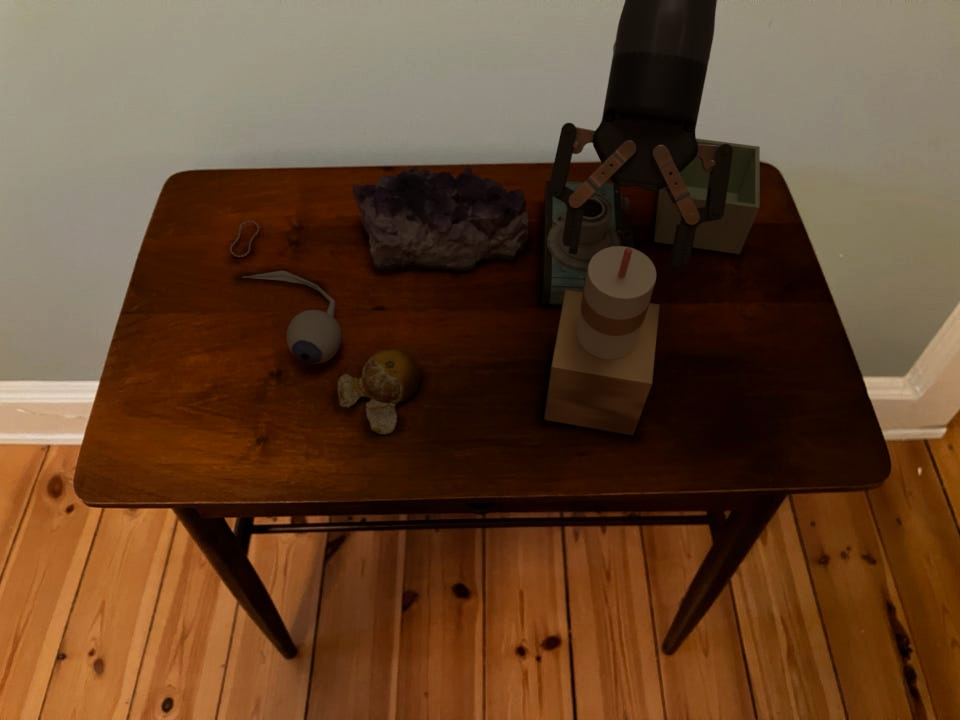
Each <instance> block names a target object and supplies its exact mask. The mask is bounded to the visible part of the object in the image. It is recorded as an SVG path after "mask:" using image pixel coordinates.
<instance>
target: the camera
mask: <svg viewBox="0 0 960 720" xmlns="http://www.w3.org/2000/svg"><path fill="white" fill-rule="evenodd" d="M583 183H584V181H583V182H582V181H581V182H580V181H566V185H565V186H566V187H568V188H570V189H572V190H573V191H576V190H577V189H578V188H579V187H580V186H581V185H582V184H583ZM549 184H550V180H546V181H545V188H544V198H543V199H544V200H543V231H542V232H543V233H542V234H543V235H542V237H543V239H542V240H543V241H542V279H541V280H542V285H541V304H542V305H558V306H559V305H560V306H563V301H564V295H565V291H566V290H569V291H576V292H582V293H583V289H584V285H585V281H586V276H587V270H588V265H589V262H590V260H591V259H592V257H593V256H594V255H595V254H596V253H598V252H599V251H601V250H603V249H605V248H608V247H614V246H624V247H630V248H633V249H635V246H634V245H635V243H634V230H633V229H629V219H628V217H623V215H627V214H628V213H629V208H630V198H629V197H627V196H623V195H622V192H621V191H622V190H621V186H618V185H616V184H614V183H607V182H606V183H605V184H604V185H603V186H602V187H601V188H600V189H599V190H597V191H596V192H595V193H594V194H593V195H592V196H591V197H590V198H589V199H588V200H587V201H586V202H585V203H584V204H583V208H582V210H584V215H583V221H582V227H581V233H580V239H579V245H578V251H577V255H575V254H569V247H570V246H564V244H563V240H562V239H563V233H564V227H565V221H566V214H567V206H566V204H565V203H564V202H562V201H561V200H559V199H557V198H555V197H553V196H552V195H550V193H549V190H548V189H549Z"/></svg>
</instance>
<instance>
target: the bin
mask: <svg viewBox="0 0 960 720" xmlns="http://www.w3.org/2000/svg"><path fill="white" fill-rule="evenodd" d="M696 140H697V143H698V144H702V145H717V146H719V145H722V144H729V145H731V146H732V148H733V155H732V162H731V169H730V176H729V182H728V189H727V196H726V203H725V210H724V215H723V217H722V218H721V219H719V220H713V221H708V222H703V223H701V224H699V225H698V227H697V228H696V232H695V237H694V242H693V246H692V249H694V248H695V249H699V250H708V251H713V252H714V251H715V252H720V253H728V254H734V255H740V254H741V253H742V250H743V248H744V245H745V242H746V240H747V238H748V236H749V234H750V231H751V229H752V226H753V225H754V222H755V220H756V217H757V215H758V213H759V210H760V208H761V207H760V204H761V201H760V200H761V199H760V198H761V197H760V196H761V193H760V192H761V191H760V189H761V187H760V184H761V183H760V182H761V179H760V177H761V175H760V173H761V171H760V169H761V168H760V167H761V166H760V164H761V163H760V160H761V159H760V157H761V155H760V152H761V151H760V146H757V145H750V144H741V143H735V142H734V143H733V142H727V141H720V140H719V141H718V140H710V139H704V138H703V139H702V138H697V137H696ZM680 175H681V177H682V179H683V181H684V183H685V185H686V187H687V189H688V191H689V194H690V196H691V198H692V200H693V202H694V204H695V206H696V208H700V207H705V204H706V197H707V190H708V183H709V175H710V172H706V171H705V170H704V169H703V167H702V161H701V159H700V158H698V157H695V158H694V160H693V161H692V162H691V163H690V164H689V165H688V166H687V167H686V168H685V169H684V170H683V171H681V172H680ZM655 216H656V217H655V226H654V235H653V242H654V243H658V244H659V243H660V244H667V245H673V242H674V237H675V232H676V227H677V224H678V225H680V221H681V218H680V216H679V214H678V212H677V210H676V208H675V206H674V204H673V202H672V201H671V199H670V197H669V195H668V193H667V192H666V190H665V188H662V189H660V190H658V197H657V207H656V215H655Z"/></svg>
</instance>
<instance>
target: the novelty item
mask: <svg viewBox="0 0 960 720" xmlns="http://www.w3.org/2000/svg"><path fill="white" fill-rule="evenodd" d="M241 278H242V279H256V280H269V281H270V280H271V281H281V282H285V283H286V282H287V283H294V284H301V285H304V286H307V287H309V288H312V289H314V290H315V291H318V292H319V293H320V294H321V296H323V297H324V298H325V299H327V301H328V302H329V304H328V307H327V310H326V311H323V310H319V309H306V310H303V311H301V312H300V313H298V314H296V315H295V316H294V318H293V319H292V320H291V321H290V323H289V324H288V327H287V330H286V345H287V347H288V350H289V351H290V353H291V354H292V355H293V356H294V357H295V358H296V359H298V360H299V361H301V362H304V363H307V364H311V365H318V364H323V363H327V362H329V361H330V360H332V359H333V358H334V357H335V355H336V354H337V353H338V351H339V349H340V347H341V344H342V337H343V333H342V328H341V326H340V323H339V321H337V319H336V318H335V310H336V300H335V299H334V298H333V297H331V296H330V294H328V293H327V292H326V291H324V290H323V289H322V288H321V287H320V286H319V285H318V284H316V283H313V282H312V281H309V280H307V279H306V278H302V277H301V276H298V275H296V274H293V273H291V272H288V271H286V270H277V271H276V270H275V271H271V272H265V273H259V274H252V275H245V276H242V277H241Z"/></svg>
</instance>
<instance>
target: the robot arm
mask: <svg viewBox="0 0 960 720" xmlns="http://www.w3.org/2000/svg"><path fill="white" fill-rule="evenodd" d="M717 4H718V0H624V3H623V7H622V10H621V13H620V16H619V20H618V24H617V29H616V33H615V40H614V42H613V48H612V58H611V64H610V68H609V69H610V70H609V76H608V81H607V88H606V95H605V99H604V105H603V112H602V115H601V116H602V117H601V121H600V124H599V125H598V127H597V128H596V129H595V130H594V129H588V128H584V127H578V126H576V125H575V124H574V123H572V122H566V123H564V124H563V125H562V126H561V129H560V135H559V140H558V143H557V148H556V153H555V157H554V161H553V166H552V171H551V175H550V179H549V181H550V184H549V189H548V190H549V193H550V195H552V196H553V197H555V198H557V199H559V200H561V201H562V202H564V203H565V204H566V206H567V214H566V221H565V227H564V233H563V239H562V240H563V244H564V246H570V247H569V254H575V255H577V251H578V245H579V239H580V233H581V227H582V221H583V215H584V210H582V208H583V204H584V203H585V202H586V201H587V200H588V199H589V198H590V197H591V196H592V195H593V194H594V193H595V192H596V191H597V190H599V189H600V188H601V187H602V186H603V185H604V184H605V183H607V182H608V181H609V180H610V181H611V182H612V184H616V185H618V186H620V187H623V188H631V187H638V188H640V189H642V190H644V191H651V192H657V191H659V190H660V189H662V188H665V190H666V192H667V193H668V195H669V197H670V199H671V201H672V202H673V204H674V206H675V208H676V210H677V212H678V214H679V216H680V218H681V221H680V225H678V224H677V227H676V232H675V237H674V242H673V244H672V247H671V253H670V257H669V263H668V269H669V270H672V271H678V272H679V271H680V269H681V265H687V264H688V263H689V262H690V260H691V256H692V251H693V247H692V246H693V242H694V237H695V232H696V228H697V227H698V225H699V224H701V223H703V222H708V221H713V220H719V219H721V218H722V217H723V215H724V210H725V203H726V196H727V189H728V182H729V176H730V169H731V162H732V155H733V148H732V146H731V145H729V144H722V145H719V146H717V145H702V144H698V143H697V140H696V138H697V136H696V129H697V123H698V119H699V114H700V108H701V103H702V99H703V93H704V88H705V83H706V77H707V72H708V66H709V62H710V58H711V52H712V48H713V47H712V46H713V42H714V36H715V29H716V28H715V27H716V13H717V12H716V11H717V6H718V5H717ZM587 144H592V147H593V148H594V151H595V153H596V155H597V157H598V159H599V161H600V163H601V165H599V166H598V168H597V169H595V170H594V171H593V172H592V174H590V175H589V176H588V177H587V178H586V179H585V180H584V181H583V184H582V185H581V186H580V187H579V188H578V189H577V190H576V191H573V190H572V189H570V188H568V187H566V186H565V185H566V182H568V181H567V180H568V176H569V172H570V166H571V162H572V158H573V155H578V154H580V153H582V152H583V150H584V148H585V146H586V145H587ZM695 157H698V158H700V159H701V161H702V167H703V169H704V170H705V171H706V172H710V175H709V183H708V190H707V197H706V204H705V207H700V208H696V206H695V204H694V202H693V200H692V198H691V196H690V194H689V191H688V189H687V187H686V185H685V183H684V181H683V179H682V177H681V175H680V172H681V171H683V170H684V169H685V168H686V167H687V166H688V165H689V164H690V163H691V162H692V161H693V160H694V158H695Z"/></svg>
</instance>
